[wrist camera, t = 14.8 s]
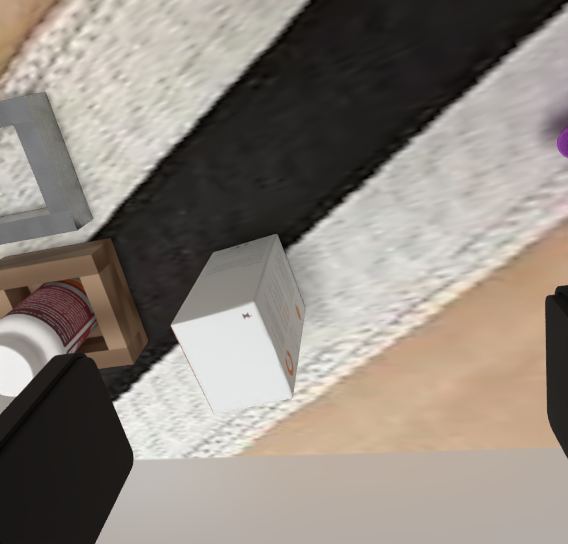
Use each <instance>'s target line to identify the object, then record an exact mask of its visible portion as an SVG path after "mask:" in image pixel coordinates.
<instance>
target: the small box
mask: <svg viewBox="0 0 568 544" xmlns="http://www.w3.org/2000/svg"><path fill="white" fill-rule="evenodd" d="M304 315H305V307H304V304H303V301H302V298H301V296H300V293H299V290H298V287H297V285H296V282H295V279H294V276H293V274H292V271H291V268H290V266H289V263H288V260H287V258H286V255H285V252H284V250H283V247H282V245H281V242H280V239H279V237H278V235H277V234H274V235H270V236H267V237H264V238H260V239H257V240H254V241H250V242H247V243H244V244H240V245H237V246H234V247H230V248H227V249H223V250H220V251H216V252H213V253H212V255H211V257H210V259H209V260H208V262H207V264H206V266H205V267H204V269H203V270H202V272H201V274H200V276H199V277H198V279H197V281H196V283H195V284H194V286H193V288H192V290H191V291H190V293H189V295H188V296H187V298H186V300H185V302H184V303H183V305H182V307H181V308H180V310H179V312H178V314H177V315H176V317H175V319H174V320H173V322H172V324H171V328H172V330H173V332H174V334H175V336H176V338H177V340H178V342H179V344H180V346H181V348H182V350H183V352H184V354H185V356H186V358H187V360H188V362H189V364H190V366H191V368H192V371H193V373H194V375H195V377H196V379H197V381H198V383H199V385H200V387H201V389H202V391H203V393H204V395H205V397H206V399H207V401H208V403H209V405H210V407H211V409H212V411H213V414H219V413H224V412H229V411H233V410H238V409H242V408H247V407H252V406H256V405H261V404H266V403H271V402H277V401H282V400H287V399H292V398H293V392H294V386H295V379H296V371H297V365H298V357H299V350H300V343H301V336H302V329H303V322H304Z"/></svg>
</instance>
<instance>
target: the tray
mask: <svg viewBox="0 0 568 544" xmlns="http://www.w3.org/2000/svg"><path fill="white" fill-rule="evenodd" d="M72 278H77V279H80V280H81V282H82V285H83V287H84V289H85V292H86V294H87V297H88V299H89V302H90V304H91V307H92V309H93V312H94V314H95V317H96V319H97V322H98V325H97V326H96V328H95V329H94V330H93V331H92V332H91V334H90V335H89V336H88V337H87V338H86V340H85V341H84V342H83V343H82V344H81V345H80V347H79V348H78V349H77V350H76V351H75V352H74V353H76V352H82V353H84V354H85V355H86V356H87V357H90V358H92V359H93V360H94V361H95V363H96V365H97V367H98V369H100V368H108V367H115V366H123V365H131V364H134V363H135V361H136V360H137V358H138V356H139V355H140V353H141V352H142V350H143V349H144V347H145V345H146V344H147V342H148V339H147V336H146V333H145V330H144V328H143V325H142V322H141V320H140V317H139V314H138V311H137V309H136V306H135V303H134V300H133V298H132V295H131V292H130V290H129V287H128V284H127V281H126V279H125V276H124V273H123V270H122V268H121V265H120V262H119V260H118V257H117V254H116V251H115V249H114V246H113V243H112V240H111V238H108V239H102V240H97V241H91V242H86V243H80V244H75V245H69V246H63V247H58V248H52V249H47V250H41V251H36V252H30V253H25V254H19V255H13V256H8V257H4V258H2V259H1V260H0V319H1V318H3V317H4V316H5V315H6V314H7V313H9V312H10V311H11V310H12V309H14V308H15V307H16V306H17V305H18V304H19V303H21V302H22V301H23V300H24V299H26V298H27V297H28V296H29V295H31V294H32V293H33V292H34V291H35V290H36V289H38V288H39V287H40V286H41V285H42V284H44V283H48V282H54V281H60V280H66V279H72Z"/></svg>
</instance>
